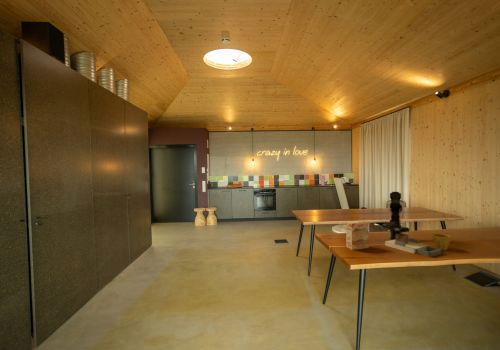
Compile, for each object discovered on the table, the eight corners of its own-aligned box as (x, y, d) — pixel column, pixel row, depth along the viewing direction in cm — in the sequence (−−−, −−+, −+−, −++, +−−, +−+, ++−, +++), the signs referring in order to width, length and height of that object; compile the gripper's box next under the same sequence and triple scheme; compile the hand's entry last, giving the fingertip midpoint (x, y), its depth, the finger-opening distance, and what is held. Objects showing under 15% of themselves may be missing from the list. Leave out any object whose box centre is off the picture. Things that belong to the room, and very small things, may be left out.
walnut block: (395, 242, 197) (395, 234, 197) (400, 240, 200) (400, 233, 200) (403, 243, 192) (403, 235, 192) (408, 242, 195) (408, 234, 194)
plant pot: (442, 251, 183) (442, 237, 183) (429, 247, 193) (429, 234, 193) (454, 250, 185) (454, 236, 185) (440, 246, 195) (440, 233, 195)
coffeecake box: (352, 250, 188) (351, 223, 188) (345, 247, 195) (345, 221, 195) (369, 248, 192) (369, 222, 192) (362, 245, 199) (362, 220, 199)
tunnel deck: (385, 245, 199) (385, 238, 199) (399, 242, 207) (399, 235, 207) (428, 257, 171) (428, 249, 171) (443, 253, 179) (443, 245, 179)
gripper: (377, 217, 205) (377, 237, 206) (400, 221, 189) (400, 243, 189) (387, 216, 210) (386, 235, 211) (409, 220, 193) (409, 241, 194)
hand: (395, 238), depth 201 cm, fingers closed
